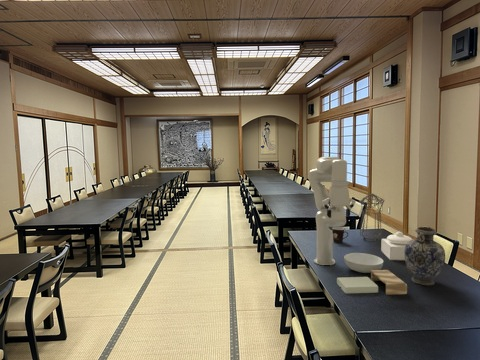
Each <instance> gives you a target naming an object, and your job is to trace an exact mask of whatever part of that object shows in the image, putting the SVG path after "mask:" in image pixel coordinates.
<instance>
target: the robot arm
mask: <svg viewBox="0 0 480 360" xmlns="http://www.w3.org/2000/svg"><path fill="white" fill-rule="evenodd" d="M315 167H316V168H314V169H311V170H309V172H308V176H307V177H308V183H309V186H310V188H311V190H312V192H313V197H314V202H315V207H316V209H317V210H318V211H317V212H316V214H315V223H316V224H315V225H316V257H315V258H314V259H313V262H314V263H315V264H317V265H318V266H319V265H320V266H324V265H330V266H333V265H335V264H336V260H335V259H334V257H333V256H334V242H333V233H332V229H330V228H333V227H344V226H345V225H346V224H347V218H350V216H351V210H352V209H353V207H354V206H355V204H356V200H355V199H353V198H350V192H349V191H350V190H349V187H348V185H350V181H348V161H347V160H344V159H340V158H339V157H338V156H321V157H319V158H318V159H316V163H315ZM322 183H331V186H329V190H328V188H326V187H325V185H324V184H322ZM350 202H351V203H350ZM345 207H346V209H345Z"/></svg>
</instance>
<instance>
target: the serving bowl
mask: <svg viewBox="0 0 480 360" xmlns="http://www.w3.org/2000/svg"><path fill="white" fill-rule="evenodd" d="M343 258H344V263H345V265H346V266H347V267H348V268H349V269H351V270H352V271H355V272H358V273H363V274H371V270H382V268H383V265H384V259H383V258H382V257H379V256H378V255H374V254H370V253H364V252H363V253H362V252H352V253H346V254H345V255H344V256H343Z"/></svg>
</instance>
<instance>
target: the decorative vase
mask: <svg viewBox="0 0 480 360" xmlns="http://www.w3.org/2000/svg"><path fill="white" fill-rule="evenodd" d="M415 233H417V238H414V239H413V238H412V240H411V241H409V242H408V243H407V244H406V246H405V250H404V256H405V260H404V261H405V265H406V269H407V271H408V272H409V273H410V274H411V275H412V277H411V281H412V283H415V284H417V285H422V286H429V287H430V286H433V285H435V280H434V279H435V278H436V277H437V276H439V275H440V273H441V272H442V270H443V268H444V265H445V262H446V250H445V248H444V247H443V245H442V244H440V243H439V242H437V241H435V240H434V239H435V238H434V236H435V235H438V233H437V231H436V230H435V229H434V228H432V227H430V226H427V227H425V226H422V227H421V226H420V227H419V226H418V228H417V229H415Z"/></svg>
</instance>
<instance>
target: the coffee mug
mask: <svg viewBox="0 0 480 360" xmlns="http://www.w3.org/2000/svg"><path fill="white" fill-rule="evenodd" d="M331 231H332V233H333V241H334V242H333V243H335V242H337V243H336V244H341V243H340V242H342V243H343V241H344V240H345V239H346V238H348V236H349V233H348V231H345V228H344V227H343V226H340V227H331ZM345 233H346V234H347V235H346V236H344V234H345Z"/></svg>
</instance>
